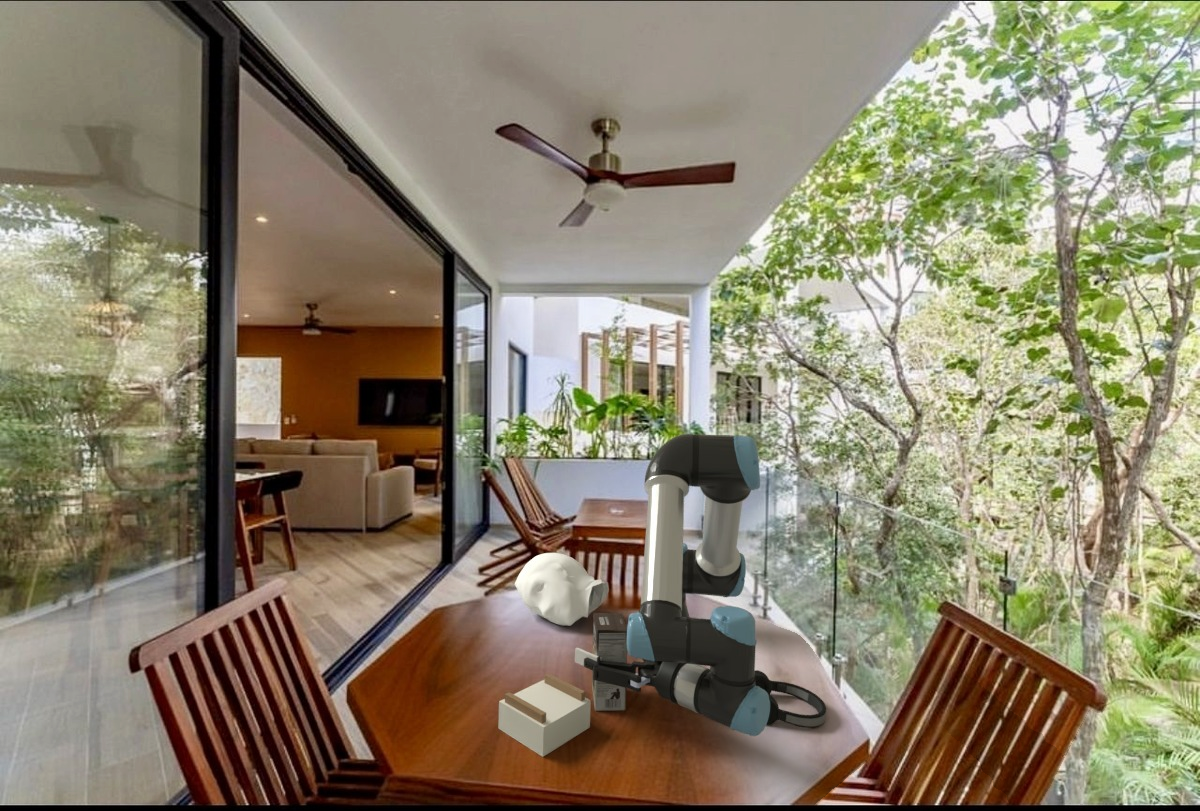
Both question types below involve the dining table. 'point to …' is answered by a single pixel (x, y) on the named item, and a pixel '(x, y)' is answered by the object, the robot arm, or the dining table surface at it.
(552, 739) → the plinth
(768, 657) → the dining table surface
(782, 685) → the headset
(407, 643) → the dining table surface
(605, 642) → the coffee box
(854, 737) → the dining table surface
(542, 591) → the head sculpture
